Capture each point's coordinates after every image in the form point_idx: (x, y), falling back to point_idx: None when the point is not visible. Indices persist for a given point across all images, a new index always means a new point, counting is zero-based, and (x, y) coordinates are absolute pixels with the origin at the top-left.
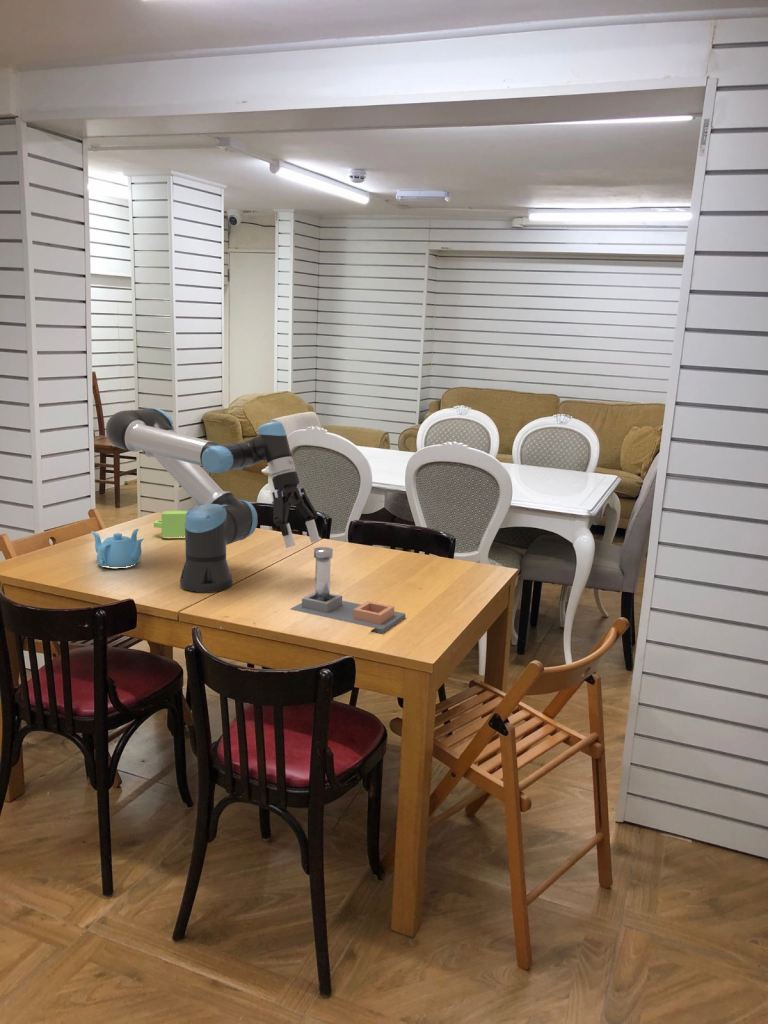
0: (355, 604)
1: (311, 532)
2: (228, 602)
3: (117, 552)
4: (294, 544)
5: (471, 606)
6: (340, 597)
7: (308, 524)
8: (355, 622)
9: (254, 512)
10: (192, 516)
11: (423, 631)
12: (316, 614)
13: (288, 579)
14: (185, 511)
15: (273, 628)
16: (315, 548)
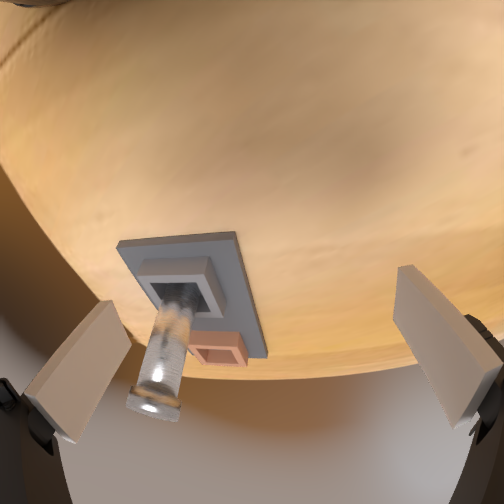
0: (247, 314)
1: (425, 327)
2: (40, 99)
3: None
4: (124, 348)
5: (361, 369)
6: (216, 316)
7: (461, 369)
8: None
9: None
10: None
11: (240, 367)
12: (146, 292)
13: (349, 37)
14: None
15: (70, 260)
16: (136, 407)
